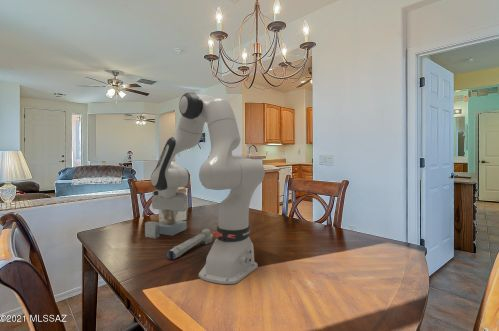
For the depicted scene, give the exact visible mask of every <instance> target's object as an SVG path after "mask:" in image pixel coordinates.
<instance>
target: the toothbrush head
mask: <svg viewBox="0 0 499 331" xmlns="http://www.w3.org/2000/svg"><path fill="white" fill-rule="evenodd" d="M213 238H214V237H213V233H212V232H211V230H210V228H205V229H202V230H201V232H200V233H199V234H196V235H195V236H193V237H191V238H189V239H187V240H185V241H184V242H182V243H180V244H178V245H174V246H173V247H172V248H171V249H170V250H168V251H167V253H166V255H167V256H166V257H167V258H168V259H169V260H171V259H172V260H171V261H174V260H176V259H178V257H179V258H180V257H181V256H182V255H183V254H184V253H186V252H188V251H189V250H191V249H192V248H193V247H194V246H196V245H198V244H199V243H201V244H202V245H208V244H212V242H213Z"/></svg>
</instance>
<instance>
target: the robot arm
mask: <svg viewBox="0 0 499 331" xmlns="http://www.w3.org/2000/svg"><path fill="white" fill-rule="evenodd" d="M178 109H179V112H180V114H181V115H180V118H179V122H178V126H177V129H176V130H175V132H174V134H172V136H171V137H170V138H168V139H167V140H166V143H165V145H164V147H163V149H162V152H161V154H160V157H159V159H158V162H157V164H156V167H155V169H153V171H152V173H151V175H150V183H151V186H152V187H153V188H154V189H156V190H153V191H152V192H151V193H152V194H151V195H152V197H151V207H152V209H153V210H159V209H161V210H162V213H163V215H164V211H165V210H171V211H174V215H173V216H172V219H176V215H177V214H178V211H180V212H184V211H186V212H187V211H188V209H189V204H188V196H187V193H186V194H185V193H178V188H179V187H184V188H186V187H187V186H188V185H189V184H190V182H191V181H190V180H191V174H190V172H189V170H188V169H186V167H185V168H184V167H182V166H180V165H179V164H178V161H177V160H173V159H174V157H176V155H177V154H179V153H181V152H183V151H186V150H189V149H192V148H194V147H195V146H197V145H198V144H199V143H200V141H201V139H202V135H203V131H204V128H205V123H207V128H208V133H209V140H210V153H209V156H208V158H207V159H206V160H205V161H204V162H203V163H202V164H201V166H200V168H199V172H198V179H199V182H200V184H201V185H202V186H203V187H204V188H205V189H207V190H212V191H213V190H215V191H223V190H224V191H225V190H230V191H229V194H228V195H227V197H226V198H225V199H223V200H222V201H221V202H220V203H219V206H218V208H217V210H218V211H217V212H218V214H217V215H218V217H217V218H218V222H217V223H218V225H217V226H216V230H215V231H213V232H212V235H213V238H215V240H214V242H213V243H212V245H211V248H210V250H209V252H208V254H207V255H206V260H205V264H204V266H203V267H202V269H201V270H200V271H199V273H198V278H200V279H201V280H203V281H206V282H209V283H213V284H220V285H221V284H223V285H235V284H237V283H239V282H241V280H243V279H244V278H246V277H247V276H248V275H250V274H251V273H252V272H253V271H255V270H256V269H257V268H258V267H259V265H258V262H256V261H255V250H254V249H255V248H254V243H253V242H252V240H251V238H250V235H251V233H250V232H251V229H250V225H249V217H250V216H249V214H250V212H249V211H250V204H251V200H252V197H253V194H254V193H255V191H256V190H257V188H258V186H260V184H261V183H262V182H264V178H265V175H266V172H265V167H264V164H263V163H262V162H261V160H257V159H254V158H248V157H247V158H242V157H241V158H240V157H239V158H238V157H237V158H234V157H233V151H234V150H236V149H237V148H238V147H239V146H240V144H241V134H240V131H239V127H238V123H237V119H236V116H235V114H234V111H233V108H232V106H231V103H230V102H229V101H228V100H227V99H226V98H223V97H215V96H212V95H209V94H205V93H195V92H185V93H184V94H183V95H182V96H181V97H180V100H179V107H178Z"/></svg>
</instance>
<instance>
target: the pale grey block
mask: <svg viewBox="0 0 499 331" xmlns="http://www.w3.org/2000/svg"><path fill="white" fill-rule="evenodd" d="M160 235H161V234H160V232H159V221H146V222H144V236H145V237H144V238H147V237H149V239H158V238H160V237H161V236H160Z"/></svg>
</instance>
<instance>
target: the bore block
mask: <svg viewBox="0 0 499 331" xmlns="http://www.w3.org/2000/svg"><path fill="white" fill-rule="evenodd" d="M187 225H188V224H187V220H186V221H185V220H182V221H178V220H175V224H172V225H167V224H165V221H162V222H160V223H159V232H160V235H165V236H166V235H167V236H172V237H173V236H175V235H177V234H179V233H180V232H181V233H182V232H183V231H186V230H188V229H187Z"/></svg>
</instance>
